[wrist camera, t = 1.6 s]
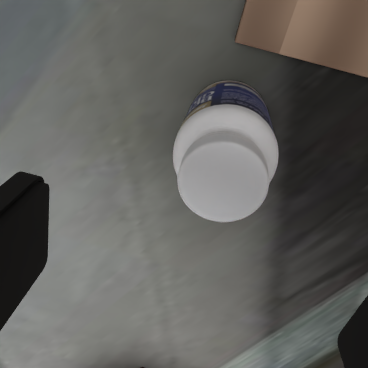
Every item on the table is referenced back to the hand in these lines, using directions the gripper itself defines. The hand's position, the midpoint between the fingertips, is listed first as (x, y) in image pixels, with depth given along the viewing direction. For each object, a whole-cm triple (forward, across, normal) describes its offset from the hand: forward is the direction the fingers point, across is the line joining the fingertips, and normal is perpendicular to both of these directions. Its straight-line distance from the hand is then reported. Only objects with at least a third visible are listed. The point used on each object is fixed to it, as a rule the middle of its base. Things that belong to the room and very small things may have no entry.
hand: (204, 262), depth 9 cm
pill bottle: (+16, -1, 0) cm, 16 cm away
